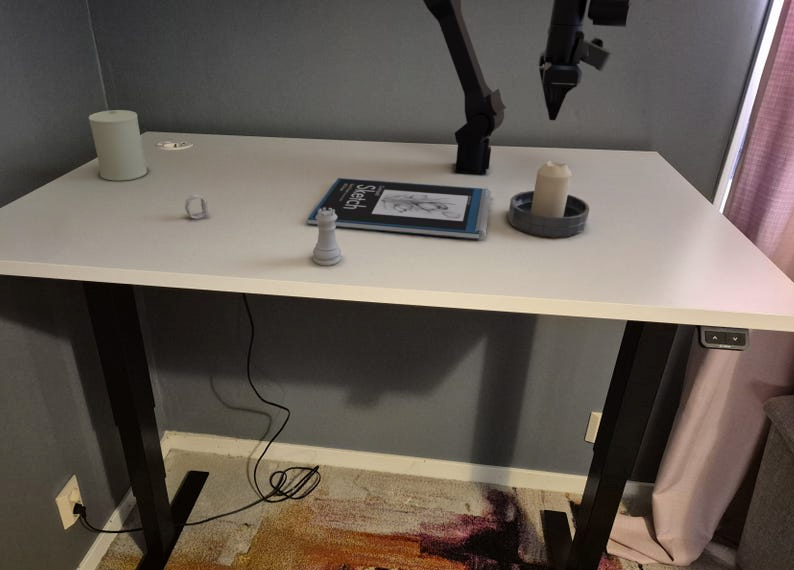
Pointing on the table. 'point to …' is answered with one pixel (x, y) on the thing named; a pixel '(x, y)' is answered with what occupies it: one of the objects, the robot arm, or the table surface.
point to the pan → (543, 225)
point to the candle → (551, 190)
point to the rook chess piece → (326, 239)
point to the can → (118, 144)
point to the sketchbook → (407, 208)
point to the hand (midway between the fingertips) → (550, 114)
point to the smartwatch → (203, 204)
